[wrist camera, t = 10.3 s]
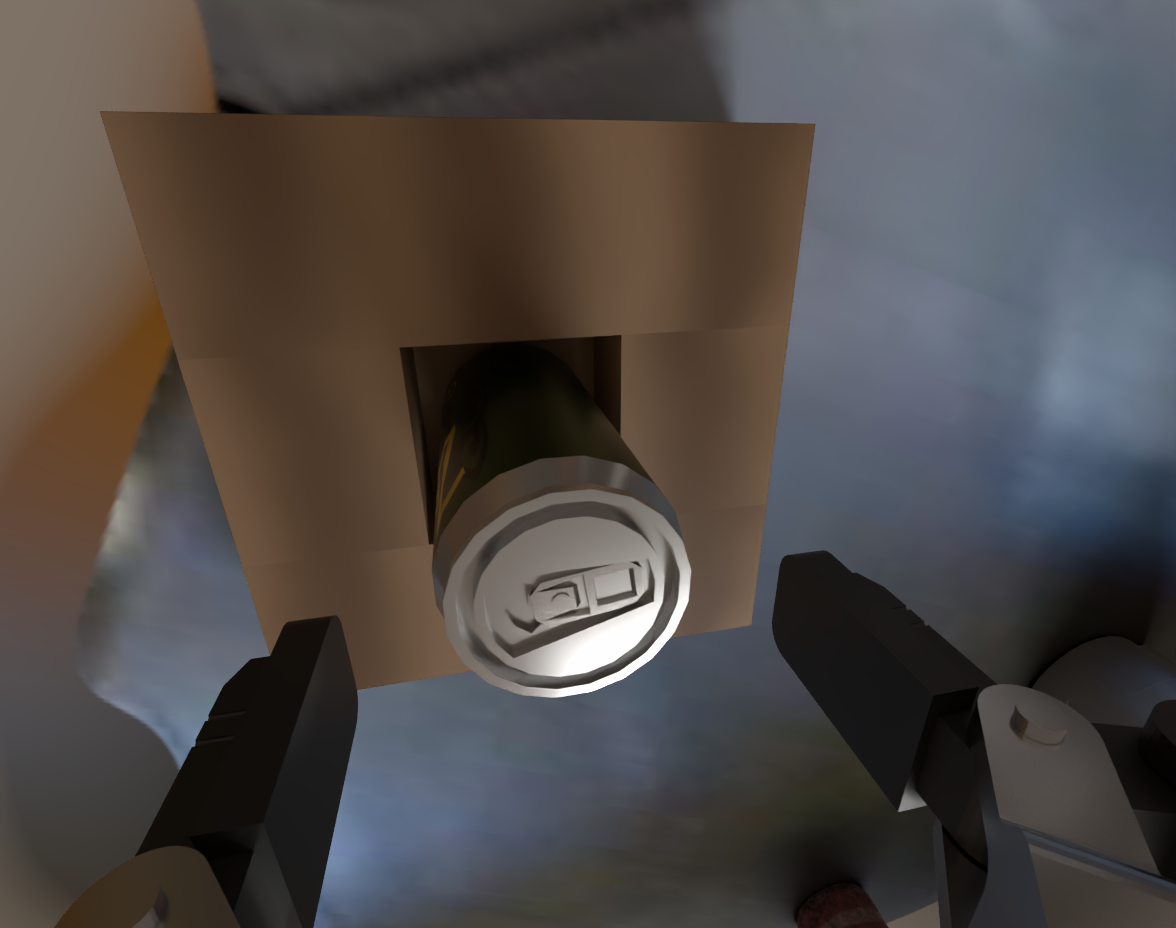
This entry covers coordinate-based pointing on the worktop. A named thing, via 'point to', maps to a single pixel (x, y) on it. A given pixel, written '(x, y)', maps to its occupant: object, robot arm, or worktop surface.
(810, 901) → the can
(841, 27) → the worktop surface
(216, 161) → the socket block
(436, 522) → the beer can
